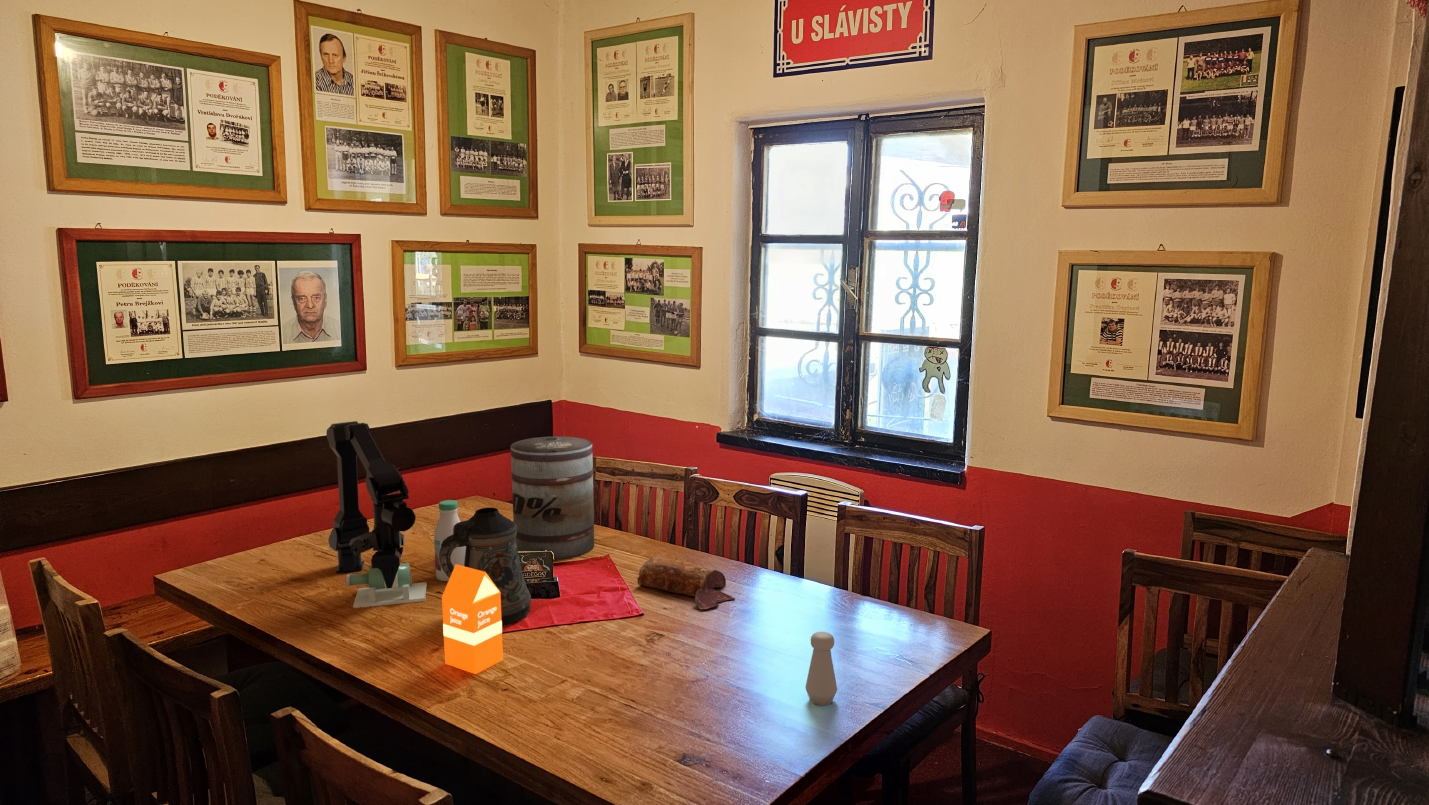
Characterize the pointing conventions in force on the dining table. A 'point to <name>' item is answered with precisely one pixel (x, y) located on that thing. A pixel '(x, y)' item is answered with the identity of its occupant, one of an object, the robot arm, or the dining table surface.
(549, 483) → the barrel
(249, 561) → the dining table surface
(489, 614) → the orange juice
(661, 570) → the cured meat
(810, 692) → the salt shaker
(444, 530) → the milk bottle
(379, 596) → the white four-legged tray
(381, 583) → the bottle
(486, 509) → the beer stein
